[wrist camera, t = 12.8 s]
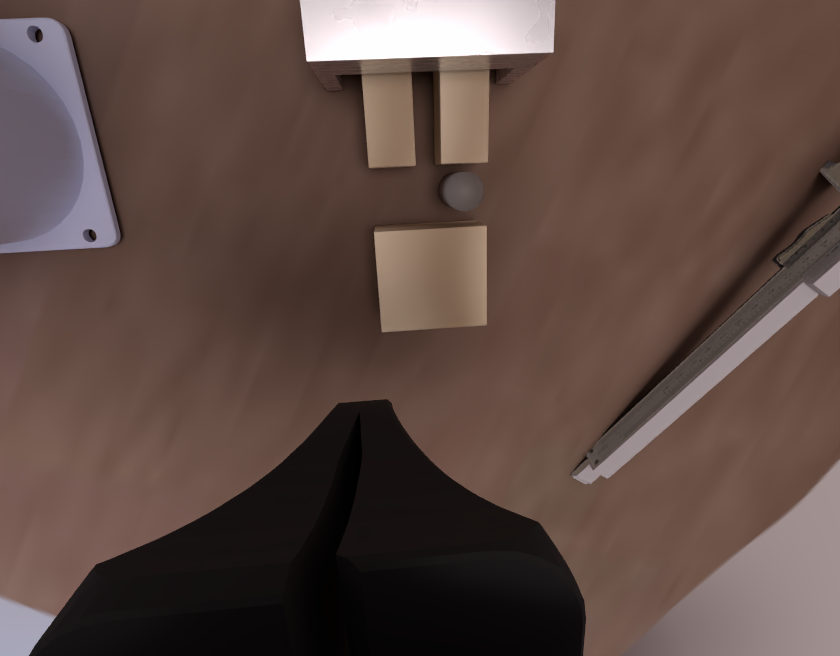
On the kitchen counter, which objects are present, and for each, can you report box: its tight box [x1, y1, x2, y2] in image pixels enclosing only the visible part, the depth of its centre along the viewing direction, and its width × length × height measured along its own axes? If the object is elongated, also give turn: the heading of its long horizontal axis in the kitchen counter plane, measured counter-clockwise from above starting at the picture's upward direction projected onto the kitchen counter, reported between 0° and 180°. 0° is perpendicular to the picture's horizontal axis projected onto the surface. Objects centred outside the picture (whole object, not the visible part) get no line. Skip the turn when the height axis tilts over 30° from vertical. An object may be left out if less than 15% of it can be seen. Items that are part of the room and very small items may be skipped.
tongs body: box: [362, 72, 487, 332], centre depth 17 cm, size 4×18×2 cm, turn 3°
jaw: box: [433, 69, 489, 211], centre depth 16 cm, size 2×14×2 cm, turn 2°
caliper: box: [571, 161, 840, 484], centre depth 20 cm, size 20×1×6 cm, turn 147°
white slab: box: [300, 0, 555, 91], centre depth 15 cm, size 7×3×5 cm, turn 93°
